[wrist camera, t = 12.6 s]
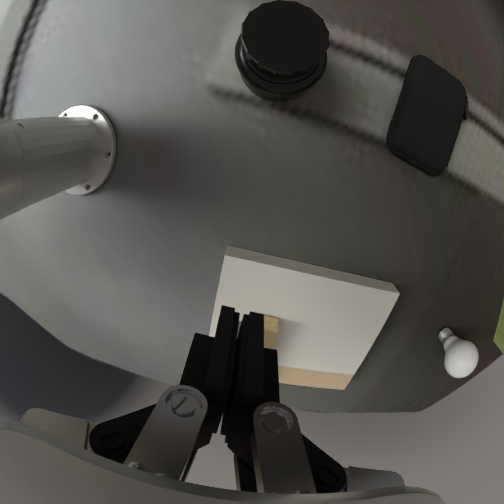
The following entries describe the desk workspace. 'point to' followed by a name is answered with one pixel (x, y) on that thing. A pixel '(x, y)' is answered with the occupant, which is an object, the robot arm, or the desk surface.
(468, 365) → the lightbulb
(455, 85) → the carrying case or bag
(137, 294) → the desk surface
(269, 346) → the gold bar
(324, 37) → the ink bottle
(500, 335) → the protein box
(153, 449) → the robot arm
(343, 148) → the desk surface
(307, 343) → the white cabinet door
